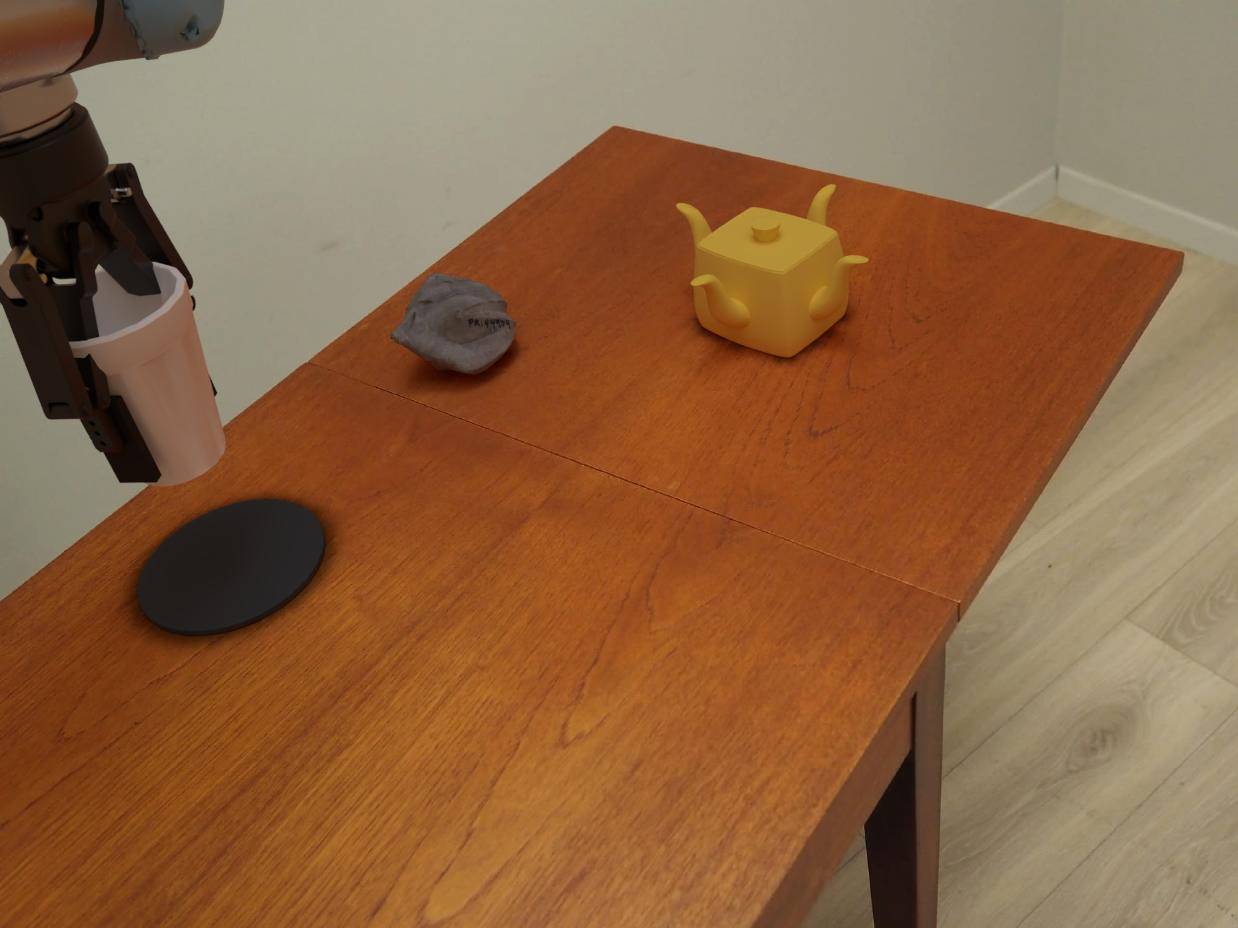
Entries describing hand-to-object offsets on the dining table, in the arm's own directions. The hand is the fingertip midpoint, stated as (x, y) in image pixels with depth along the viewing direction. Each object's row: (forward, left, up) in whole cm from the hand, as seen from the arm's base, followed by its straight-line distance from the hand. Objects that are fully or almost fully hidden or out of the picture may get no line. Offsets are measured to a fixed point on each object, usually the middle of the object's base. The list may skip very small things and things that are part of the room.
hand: (170, 435), depth 80 cm
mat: (0, 0, -12) cm, 12 cm away
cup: (0, 0, -3) cm, 3 cm away
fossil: (+28, +3, -13) cm, 31 cm away
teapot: (+46, -18, -13) cm, 51 cm away
